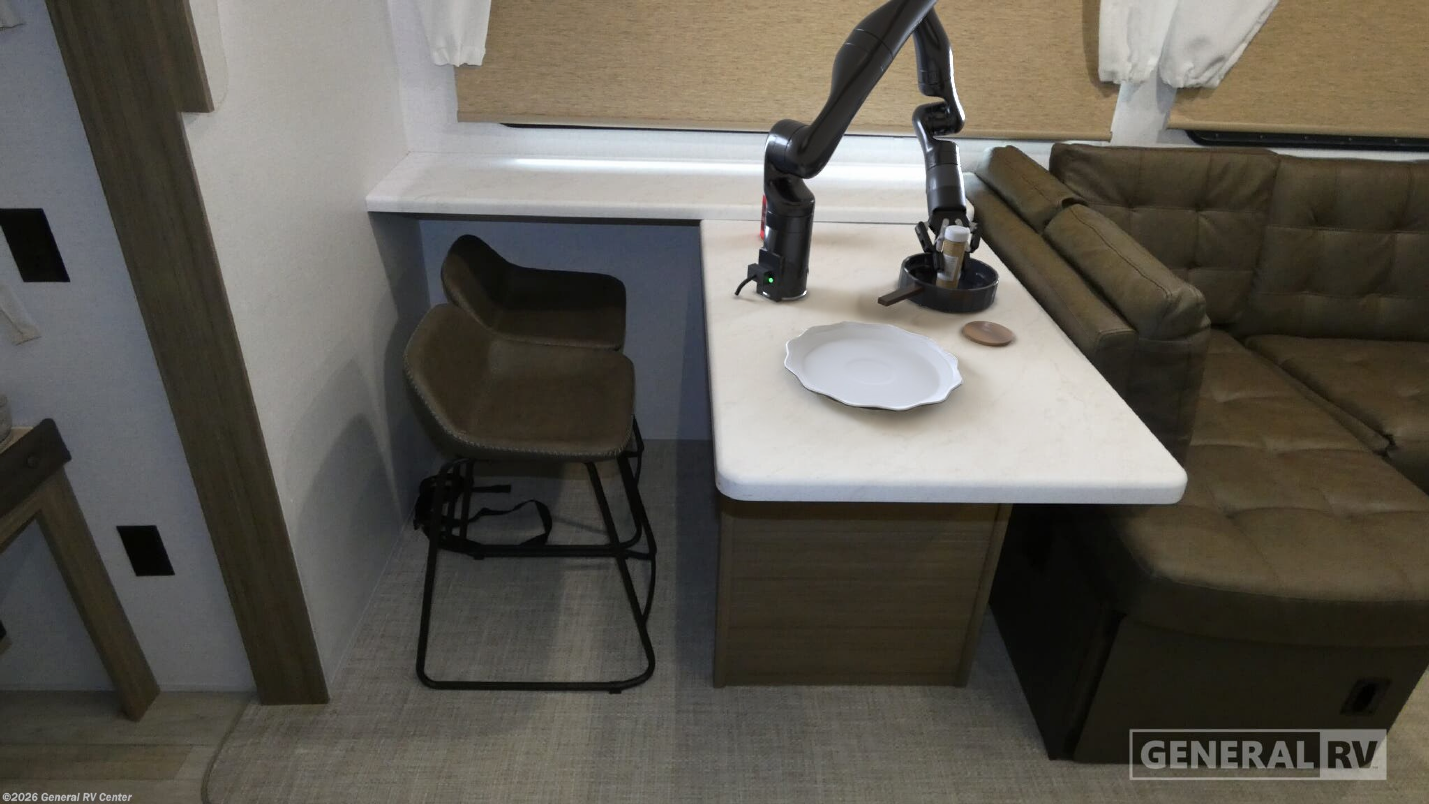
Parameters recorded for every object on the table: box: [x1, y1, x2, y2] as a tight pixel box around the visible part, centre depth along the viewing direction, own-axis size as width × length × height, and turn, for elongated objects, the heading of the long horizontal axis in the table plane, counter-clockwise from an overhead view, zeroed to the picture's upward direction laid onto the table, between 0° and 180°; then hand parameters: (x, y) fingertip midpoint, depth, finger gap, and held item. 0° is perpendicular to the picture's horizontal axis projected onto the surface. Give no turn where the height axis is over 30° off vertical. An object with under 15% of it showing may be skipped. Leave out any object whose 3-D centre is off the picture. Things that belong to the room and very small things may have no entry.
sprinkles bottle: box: [936, 226, 970, 289], centre depth 167 cm, size 5×5×14 cm
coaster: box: [962, 320, 1014, 347], centre depth 155 cm, size 9×9×1 cm
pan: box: [897, 251, 1000, 314], centre depth 169 cm, size 19×19×5 cm
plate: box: [783, 320, 964, 412], centre depth 140 cm, size 29×29×2 cm
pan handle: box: [876, 283, 923, 308], centre depth 159 cm, size 11×2×1 cm, turn 131°
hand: (953, 271), depth 166 cm, fingers closed on sprinkles bottle, 4 cm apart
